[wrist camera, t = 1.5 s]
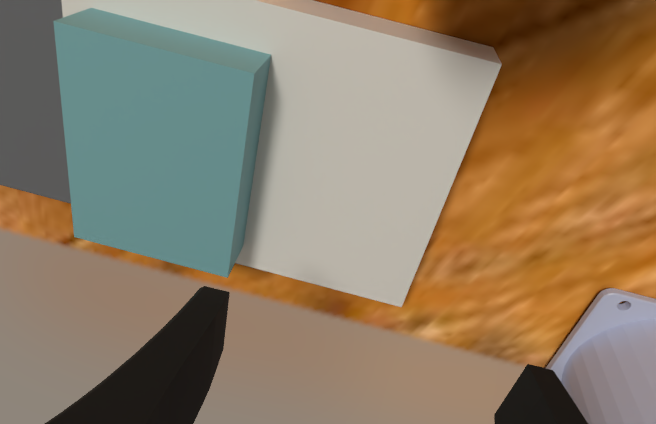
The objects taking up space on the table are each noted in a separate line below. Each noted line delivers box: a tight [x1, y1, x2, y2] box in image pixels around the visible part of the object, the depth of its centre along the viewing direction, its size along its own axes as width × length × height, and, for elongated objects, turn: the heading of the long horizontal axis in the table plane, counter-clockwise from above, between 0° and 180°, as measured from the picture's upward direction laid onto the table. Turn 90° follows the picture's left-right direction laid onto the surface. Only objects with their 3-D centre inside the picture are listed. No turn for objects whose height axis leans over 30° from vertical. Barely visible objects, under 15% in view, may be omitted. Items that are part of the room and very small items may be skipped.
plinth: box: [61, 0, 502, 307], centre depth 19 cm, size 14×10×2 cm
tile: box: [53, 8, 271, 278], centre depth 17 cm, size 6×8×2 cm
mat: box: [0, 0, 71, 203], centre depth 20 cm, size 8×10×1 cm
